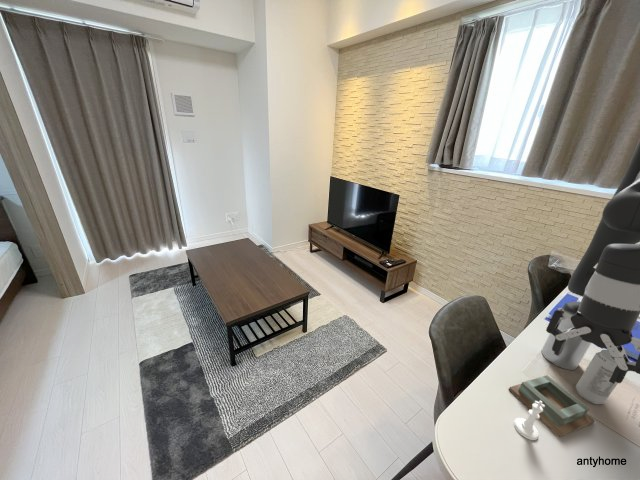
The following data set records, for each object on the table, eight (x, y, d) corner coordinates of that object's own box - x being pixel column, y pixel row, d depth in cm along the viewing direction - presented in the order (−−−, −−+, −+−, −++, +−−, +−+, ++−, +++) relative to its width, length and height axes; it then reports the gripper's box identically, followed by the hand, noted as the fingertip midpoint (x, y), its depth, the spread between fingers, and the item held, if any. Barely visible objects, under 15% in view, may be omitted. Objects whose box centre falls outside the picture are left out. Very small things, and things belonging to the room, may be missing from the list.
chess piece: (514, 415, 67) (528, 387, 63) (538, 428, 64) (554, 400, 60) (512, 430, 63) (527, 402, 59) (537, 445, 60) (555, 416, 56)
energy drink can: (598, 393, 74) (624, 354, 69) (606, 410, 70) (635, 369, 64) (571, 383, 77) (594, 344, 72) (577, 398, 72) (603, 358, 67)
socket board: (540, 379, 77) (545, 370, 76) (593, 422, 66) (600, 412, 64) (508, 389, 74) (513, 379, 72) (559, 436, 62) (566, 426, 61)
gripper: (676, 312, 45) (638, 384, 50) (570, 279, 57) (548, 341, 61) (669, 323, 41) (629, 401, 46) (557, 286, 53) (534, 351, 58)
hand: (583, 366), depth 54 cm, fingers open, 8 cm apart
